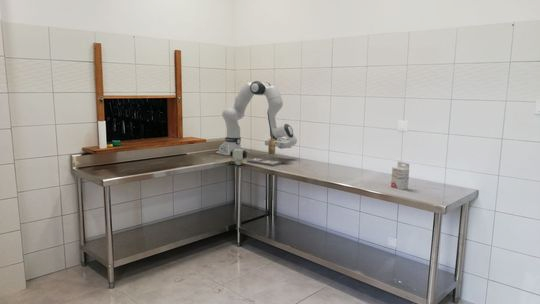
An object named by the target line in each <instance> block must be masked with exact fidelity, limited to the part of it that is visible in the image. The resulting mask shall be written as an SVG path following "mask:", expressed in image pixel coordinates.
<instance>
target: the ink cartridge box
mask: <svg viewBox="0 0 540 304" xmlns="http://www.w3.org/2000/svg"><path fill="white" fill-rule="evenodd" d="M409 178H410V164H409V163H406V162H402V161H397V166H392V168H391V184H390V187H391V188H394V189H399V190H400V191H401V190H408V188H409Z"/></svg>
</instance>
